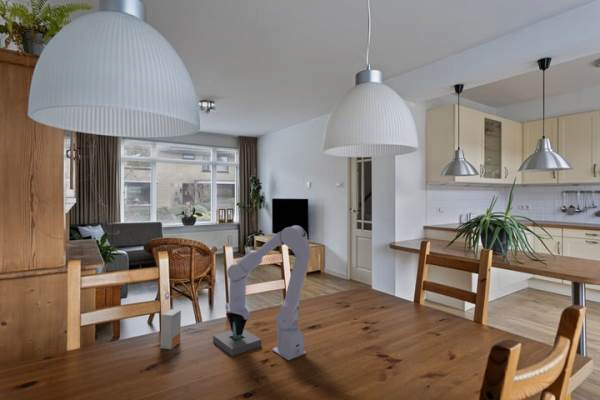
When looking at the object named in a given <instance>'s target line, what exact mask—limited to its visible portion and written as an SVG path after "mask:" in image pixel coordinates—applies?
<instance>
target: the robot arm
mask: <svg viewBox="0 0 600 400" xmlns="http://www.w3.org/2000/svg"><path fill="white" fill-rule="evenodd" d="M284 245H285V246H286V247H288V249H290V250H291V251H292V252H293V254H294V256H295V257H294V261H293V266H292V269H291V273H290V277H289V281H288V285H287V289H286V293H285V298H284V300H283V302H282V304H281V307H280V310H279V312H278V313H277V314H276V315H275V323H276V325H277V336H276V337H277V342H276V343H277V345H276V346H275V347H273V348H272V349H271V350H272V351H273V352H275V353H276V354H277V355H279V356H280V357H283V358H284V359H286V360H287V361H290V360H292V359H295V358H298V357H300V356H303V355H305V354H306V353H307V351H305V335H304V333H303V331H302V330H300V327H299V323H298V318H299V317H300V314H301V311H300V304H301V303H300V298H301V293H302V290H303V286H304V282H305V278H306V275H307V270H308V267H309V263H310V259H311V256H312V250H311V247H310V243H309V240H308V234H307V232H306V231H305V229H304V228H303V227H302V226H300V225H296V224H294V225H292V226H288V227H284V229H282V230H281V231H279V232H277V233H276V234H274V235H273V236H272V237H270V239H268V240H267V241H266V242H265V243H263V245H262V246H260V247H259V248H258V249H256V250H255V249H251V250H247V251H246V252H245V255H244V256H242V258H239V259H237V260H236V263H235V264H231V265H230V266H229V267H228V269H227V277H228V279H229V302H226V303H225V309H226V313H225V316H226V317H227V320H228V323H229V326H230V330H231V331H232V332H233V322H235V326H236V335H237V336H238V335H242V334H243V330H244V329H245V326H246V324H247V322H248V320H250V319H251V312H249V311H248V309H247V307H246V293H247V292H246V285H247V284H246V283H247V282H246V281H247V280H246V279H247V276H248V274H249V273H251V272H252V271H253V270H254V269H256V267H258V266H259V265H261V264H262V263H263V259H264V257H265V256H266V255H268V254H269V253H270V252H273V250H275V249H276V248H277V247H278V246H284Z"/></svg>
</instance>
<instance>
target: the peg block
mask: <svg viewBox="0 0 600 400" xmlns="http://www.w3.org/2000/svg"><path fill="white" fill-rule="evenodd" d="M212 343H214V344H215V345H216V346H217V347H219V348H220V349H221V350H223V351H224V352H225V353H227V354H228V355H229V356H230V357H234V356H236V355H240V354H242V353H247V352H248V351H251V350H254V349H255V350H256V349H257V348H260V347H262V338H260V337H258V336H256V335H255V334H253V333H252V332H250V331H248V330H247V329H246V328H244V330H243V334H242V335H241V339H240V340H233V332H232V331H231V329H230V330H227V331H224V332H221V333H217V334H213V335H212Z"/></svg>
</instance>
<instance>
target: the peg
mask: <svg viewBox="0 0 600 400" xmlns="http://www.w3.org/2000/svg"><path fill="white" fill-rule="evenodd" d="M240 339H241V335H238V336H237V335H236V326H235V322H233V340H240Z"/></svg>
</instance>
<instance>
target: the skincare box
mask: <svg viewBox="0 0 600 400" xmlns="http://www.w3.org/2000/svg"><path fill="white" fill-rule="evenodd" d="M181 320H182V310H181V309H170V310H167V311H165V312H164V313H163V314H161V322H160V349H165V350H166V349H167V350H172V349H173V348H174V347H175V346H177V345H179V344H180V343H181V326H182V325H181V324H182V323H181V322H182V321H181Z"/></svg>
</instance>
